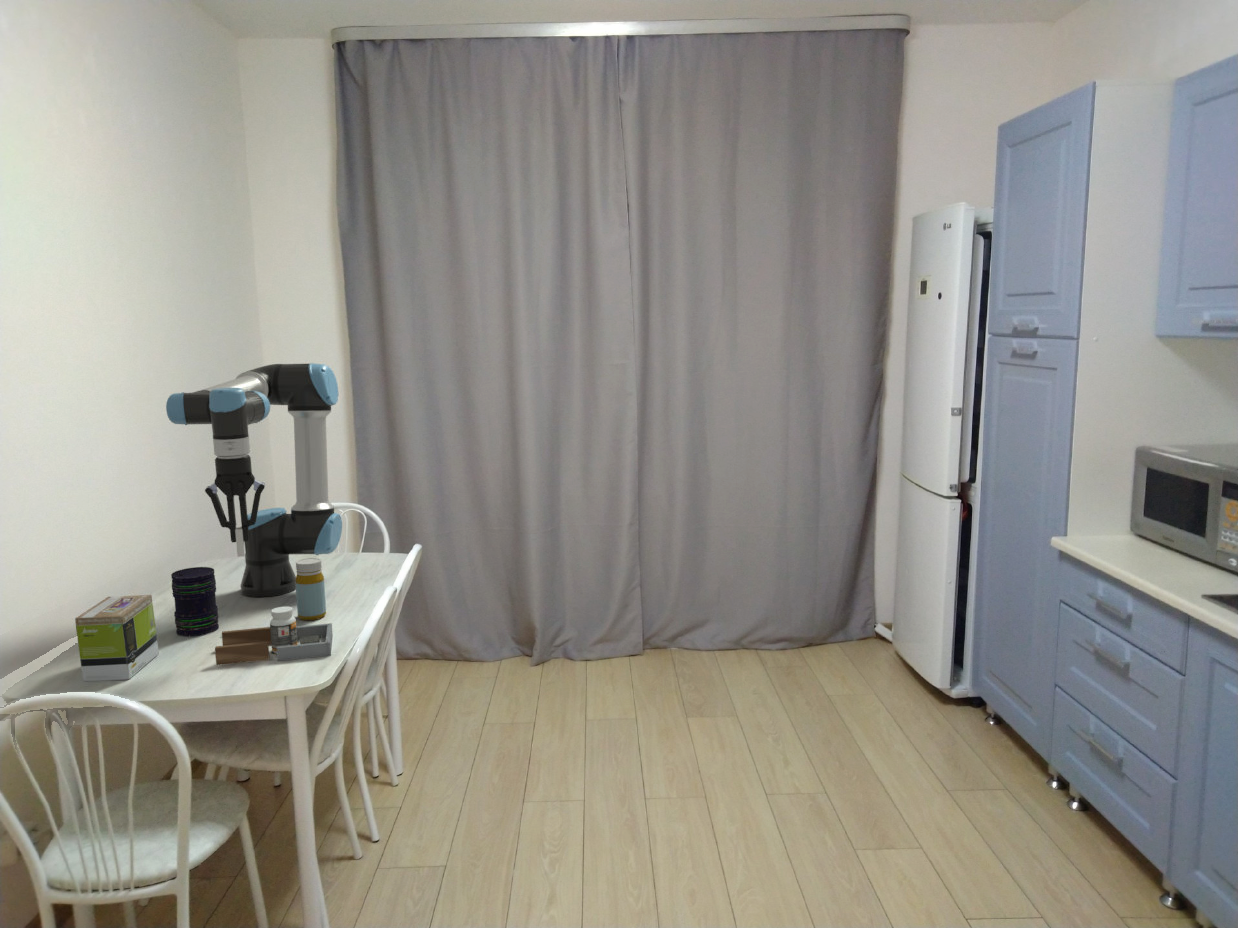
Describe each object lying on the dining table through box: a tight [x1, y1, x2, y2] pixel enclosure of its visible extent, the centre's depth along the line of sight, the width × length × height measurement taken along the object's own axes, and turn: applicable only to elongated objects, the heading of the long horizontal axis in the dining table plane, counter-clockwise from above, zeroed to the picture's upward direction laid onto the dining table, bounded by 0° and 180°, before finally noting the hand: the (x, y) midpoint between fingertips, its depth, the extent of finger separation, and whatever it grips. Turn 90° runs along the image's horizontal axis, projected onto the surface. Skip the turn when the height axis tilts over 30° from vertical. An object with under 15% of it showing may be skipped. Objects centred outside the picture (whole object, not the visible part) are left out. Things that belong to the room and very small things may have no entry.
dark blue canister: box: [170, 566, 220, 638], centre depth 218 cm, size 10×10×15 cm
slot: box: [214, 626, 272, 666], centre depth 203 cm, size 11×11×4 cm
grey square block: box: [299, 635, 321, 644], centre depth 206 cm, size 4×4×2 cm
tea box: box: [74, 594, 159, 683], centre depth 194 cm, size 15×10×15 cm
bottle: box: [295, 557, 327, 621], centre depth 227 cm, size 7×7×15 cm
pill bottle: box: [269, 606, 299, 654], centre depth 204 cm, size 6×6×10 cm
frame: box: [276, 622, 334, 662], centre depth 207 cm, size 14×12×3 cm
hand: (241, 554), depth 205 cm, fingers closed
